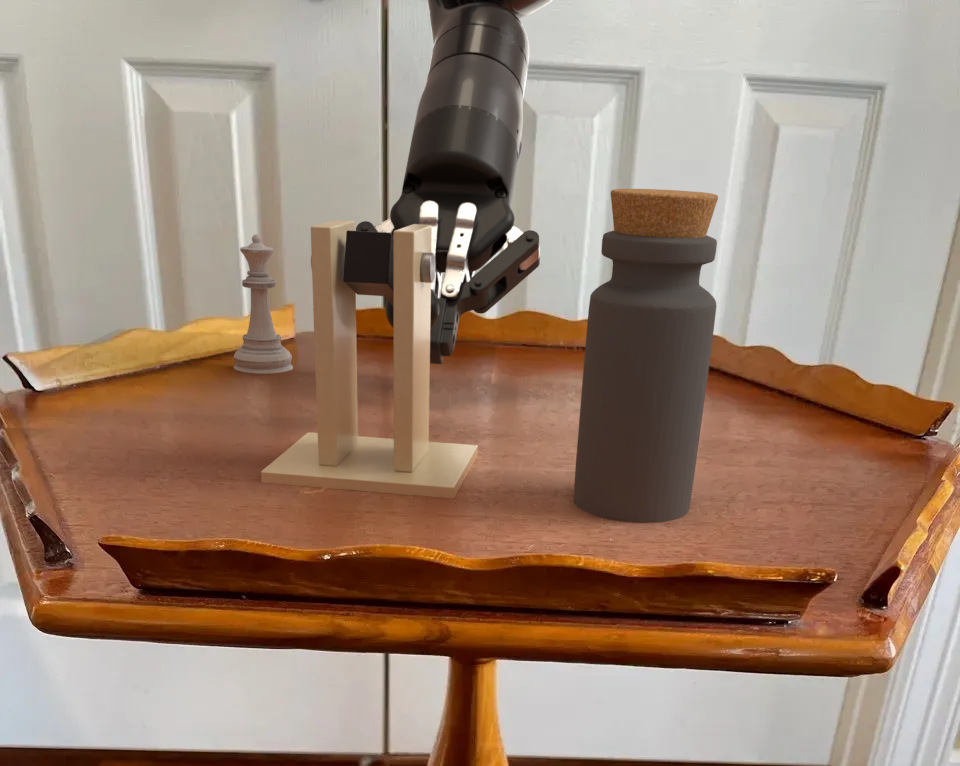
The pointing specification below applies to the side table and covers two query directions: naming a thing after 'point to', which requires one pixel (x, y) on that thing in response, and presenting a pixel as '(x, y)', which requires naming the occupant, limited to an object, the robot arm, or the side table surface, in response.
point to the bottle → (647, 359)
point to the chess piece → (260, 319)
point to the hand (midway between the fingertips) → (429, 356)
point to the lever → (375, 269)
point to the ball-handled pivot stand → (337, 446)
